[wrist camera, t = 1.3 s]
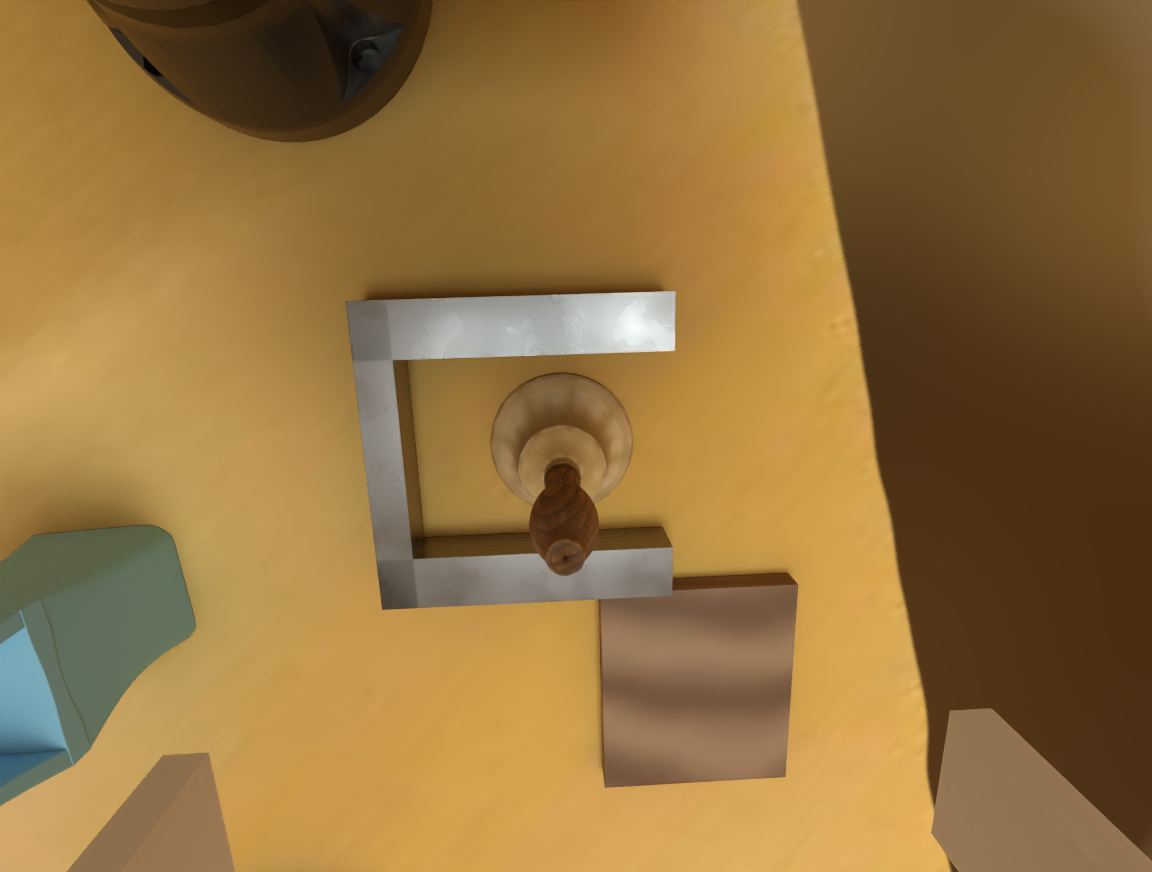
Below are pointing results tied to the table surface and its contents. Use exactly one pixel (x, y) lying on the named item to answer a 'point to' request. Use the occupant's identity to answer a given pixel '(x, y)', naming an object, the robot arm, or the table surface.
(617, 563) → the silver c-shaped bracket
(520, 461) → the hand bell
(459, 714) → the table surface
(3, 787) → the light blue holder
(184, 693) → the table surface
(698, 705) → the walnut board
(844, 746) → the table surface
